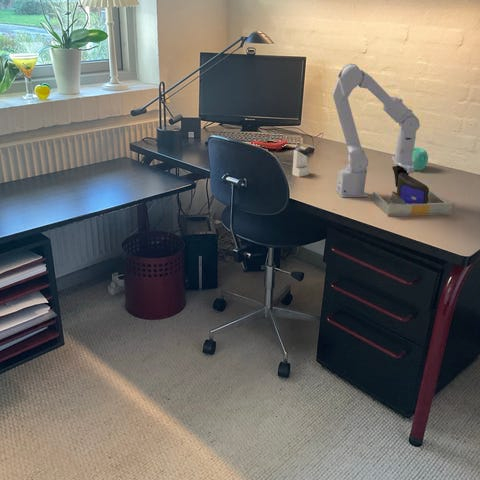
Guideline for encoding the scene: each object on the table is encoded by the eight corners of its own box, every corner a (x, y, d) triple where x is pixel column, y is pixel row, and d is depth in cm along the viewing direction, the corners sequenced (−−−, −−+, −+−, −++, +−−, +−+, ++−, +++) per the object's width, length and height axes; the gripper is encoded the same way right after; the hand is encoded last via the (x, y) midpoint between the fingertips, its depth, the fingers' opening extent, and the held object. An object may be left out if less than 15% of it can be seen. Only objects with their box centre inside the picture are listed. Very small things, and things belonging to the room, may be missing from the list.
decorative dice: (411, 164, 226) (414, 146, 223) (426, 169, 220) (429, 150, 217) (398, 167, 222) (401, 148, 219) (413, 172, 216) (416, 152, 213)
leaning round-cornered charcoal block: (388, 198, 186) (391, 172, 182) (400, 196, 187) (402, 170, 183) (415, 215, 172) (418, 188, 168) (427, 213, 173) (430, 186, 169)
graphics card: (276, 157, 232) (276, 148, 231) (210, 148, 243) (210, 139, 242) (290, 147, 249) (291, 138, 247) (228, 138, 260) (228, 130, 258)
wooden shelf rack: (388, 216, 171) (389, 204, 169) (372, 200, 184) (373, 189, 183) (450, 215, 173) (452, 203, 172) (430, 199, 187) (432, 188, 185)
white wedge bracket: (284, 170, 205) (294, 149, 205) (299, 178, 212) (308, 158, 212) (291, 172, 203) (300, 151, 202) (306, 181, 210) (315, 160, 209)
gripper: (425, 154, 176) (418, 193, 181) (407, 143, 189) (401, 180, 194) (404, 154, 175) (398, 194, 180) (388, 143, 188) (383, 180, 194)
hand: (398, 186), depth 187 cm, fingers closed
